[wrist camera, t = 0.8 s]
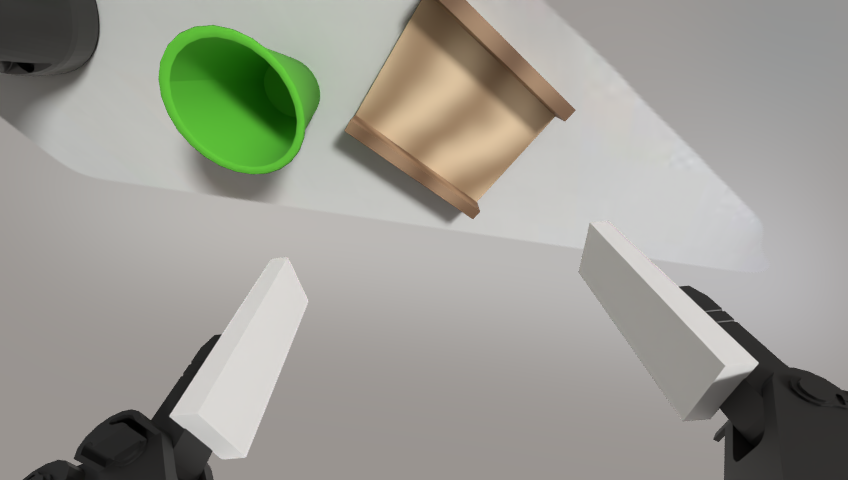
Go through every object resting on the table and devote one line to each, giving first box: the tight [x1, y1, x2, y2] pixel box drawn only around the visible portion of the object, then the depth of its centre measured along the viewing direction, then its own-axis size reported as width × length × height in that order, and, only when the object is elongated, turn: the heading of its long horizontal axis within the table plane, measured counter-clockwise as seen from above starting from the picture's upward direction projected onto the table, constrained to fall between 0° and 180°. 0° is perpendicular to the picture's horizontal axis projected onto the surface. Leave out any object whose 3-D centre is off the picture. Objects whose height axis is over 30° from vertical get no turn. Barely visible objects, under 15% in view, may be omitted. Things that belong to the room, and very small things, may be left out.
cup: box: [159, 25, 320, 174], centre depth 24 cm, size 9×9×11 cm
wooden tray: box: [345, 0, 575, 219], centre depth 29 cm, size 16×14×3 cm
